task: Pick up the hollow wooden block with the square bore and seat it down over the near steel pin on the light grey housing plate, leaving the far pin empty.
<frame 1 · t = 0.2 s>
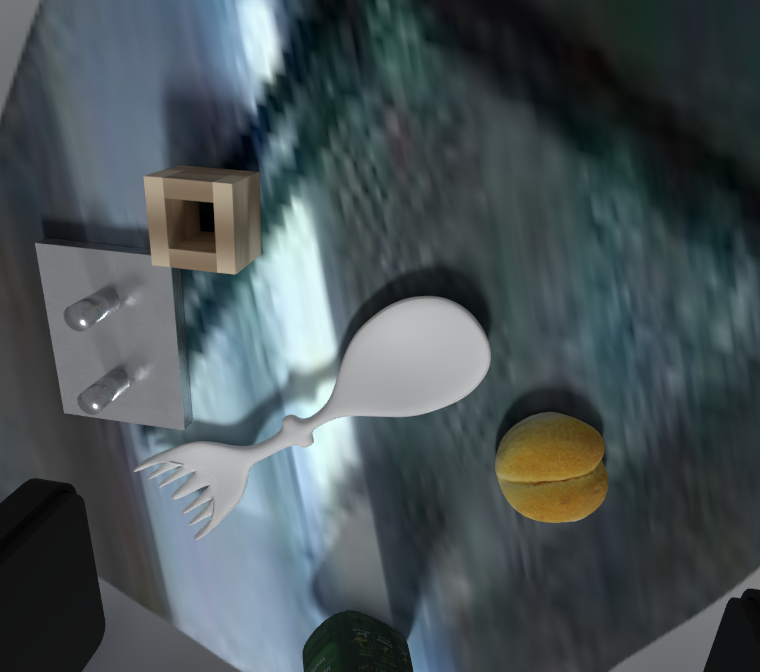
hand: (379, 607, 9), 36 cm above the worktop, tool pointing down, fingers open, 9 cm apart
spoon: (314, 408, 52), on the worktop
coffee jar: (354, 643, 59), point 1 cm above the worktop
housing plate: (123, 333, 51), on the worktop
bread roll: (551, 458, 49), on the worktop
hollow wooden block: (221, 210, 46), on the worktop
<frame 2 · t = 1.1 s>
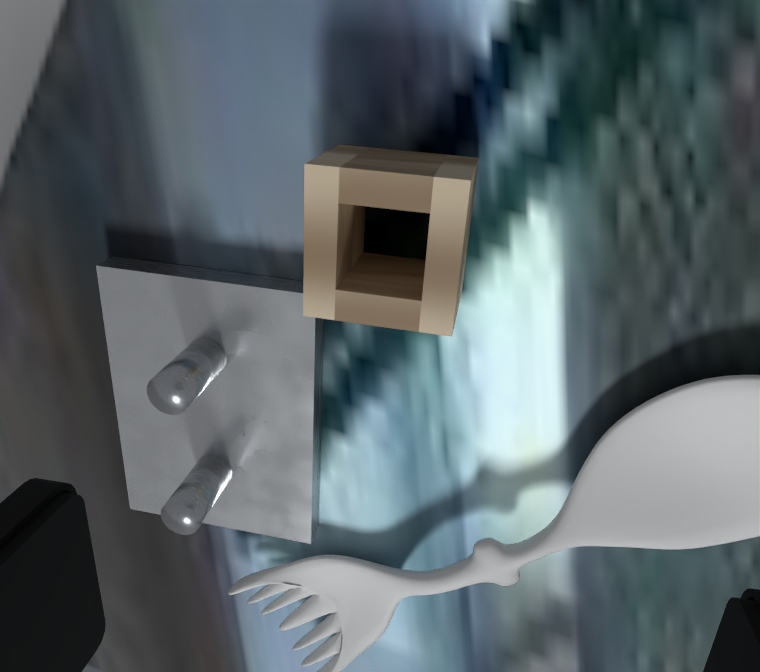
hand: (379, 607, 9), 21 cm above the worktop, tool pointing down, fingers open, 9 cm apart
spoon: (507, 517, 34), on the worktop
housing plate: (223, 400, 34), on the worktop
hollow wooden block: (402, 220, 28), on the worktop
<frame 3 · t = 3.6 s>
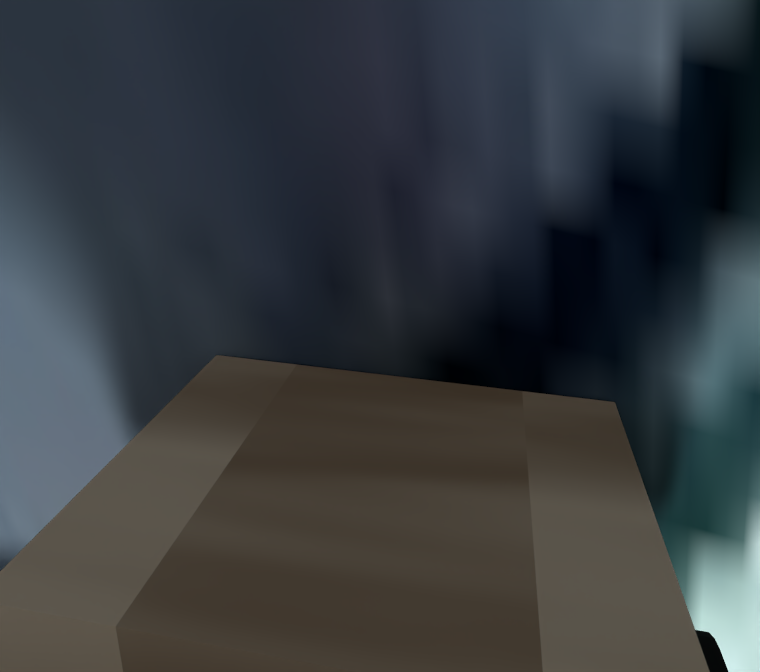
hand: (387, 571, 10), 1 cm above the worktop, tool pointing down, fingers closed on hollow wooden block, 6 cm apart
hollow wooden block: (395, 536, 11), on the worktop, touching gripper
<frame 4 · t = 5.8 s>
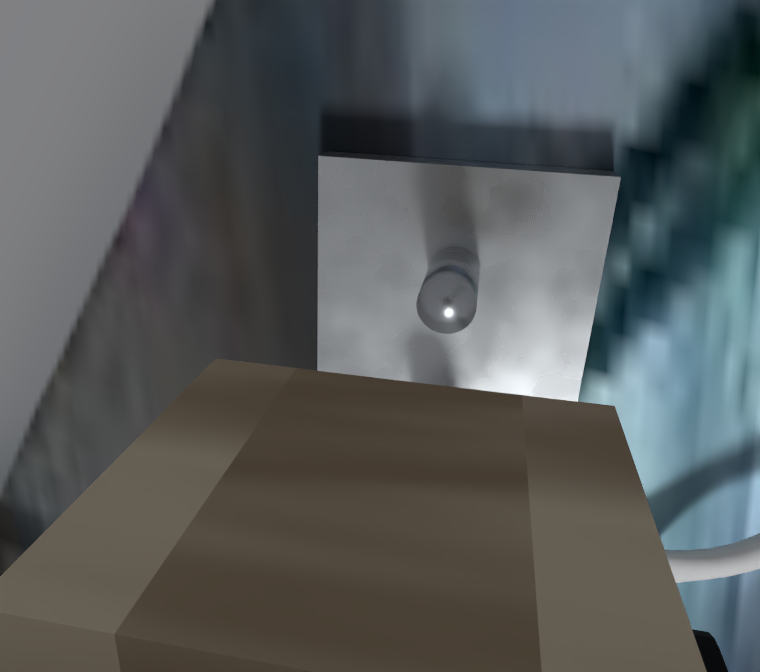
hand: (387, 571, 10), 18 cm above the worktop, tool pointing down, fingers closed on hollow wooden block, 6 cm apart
housing plate: (449, 338, 27), on the worktop
hollow wooden block: (395, 539, 11), point 17 cm above the worktop, touching gripper
when the fingers open (4 cm above the worktop, at t = 8.2 s): hollow wooden block drops 2 cm, resting on housing plate.
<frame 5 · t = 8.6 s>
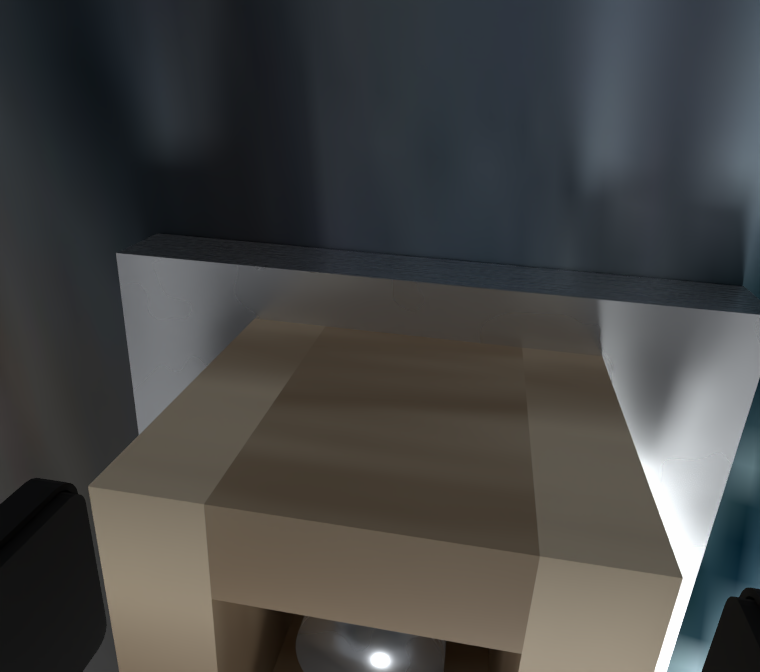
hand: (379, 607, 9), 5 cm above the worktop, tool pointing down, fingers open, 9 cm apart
housing plate: (407, 566, 15), on the worktop
hollow wooden block: (410, 480, 12), point 1 cm above the worktop, touching housing plate
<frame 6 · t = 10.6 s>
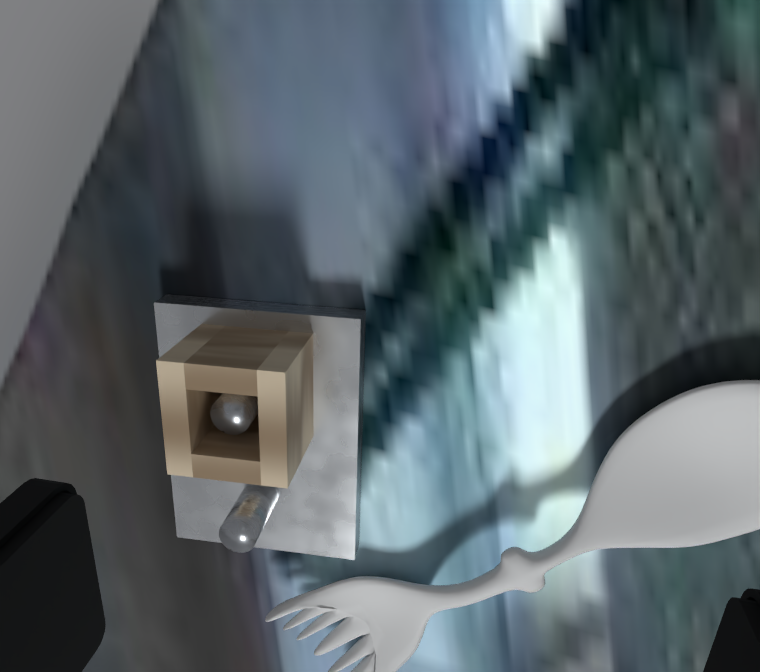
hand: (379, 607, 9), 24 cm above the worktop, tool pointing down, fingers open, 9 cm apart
spoon: (527, 529, 37), on the worktop
housing plate: (268, 425, 36), on the worktop
hollow wooden block: (258, 381, 34), point 1 cm above the worktop, touching housing plate
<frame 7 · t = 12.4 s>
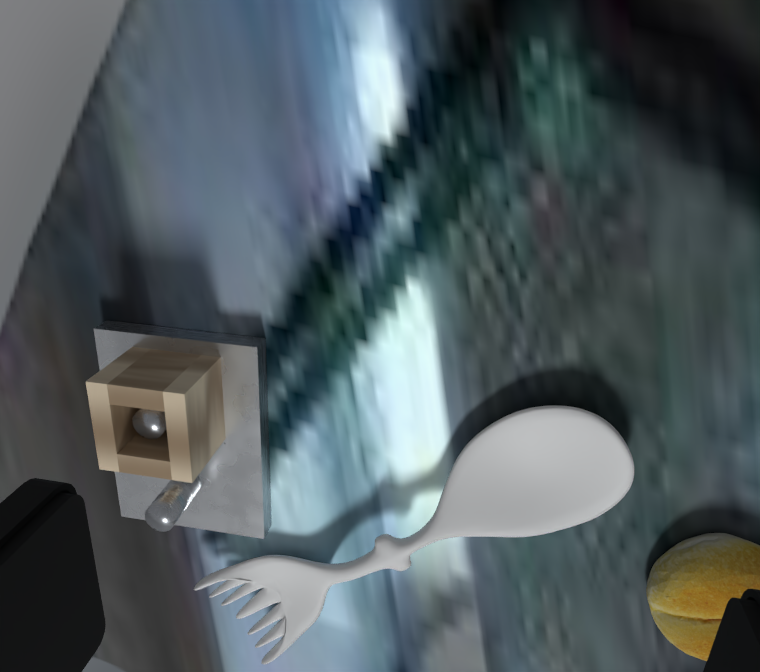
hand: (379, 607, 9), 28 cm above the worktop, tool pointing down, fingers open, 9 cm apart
spoon: (406, 519, 44), on the worktop
housing plate: (193, 427, 44), on the worktop
bread roll: (711, 581, 42), on the worktop
hollow wooden block: (179, 393, 41), point 1 cm above the worktop, touching housing plate
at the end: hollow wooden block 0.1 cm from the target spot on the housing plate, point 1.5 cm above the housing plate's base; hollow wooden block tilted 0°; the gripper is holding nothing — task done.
